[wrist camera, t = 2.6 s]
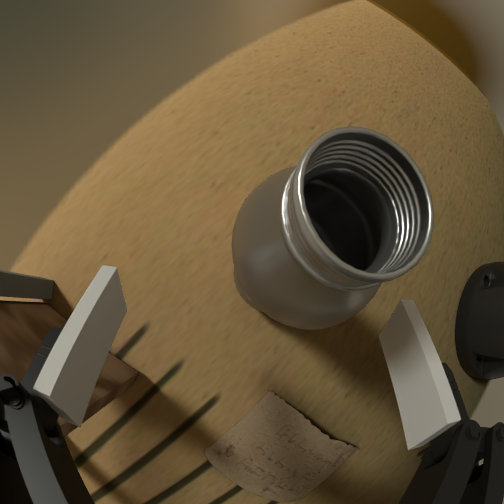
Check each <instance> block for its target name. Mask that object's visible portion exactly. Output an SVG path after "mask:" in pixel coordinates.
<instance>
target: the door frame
mask: <svg viewBox="0 0 504 504" xmlns="http://www.w3.org/2000/svg"><path fill="white" fill-rule="evenodd" d="M53 285H54V281H53V280H49V279H46V278H42V277H36V276H30V275H24V274H19V273H13V272H8V271H3V270H0V296H4V297H18V298H34V299H52V293H53Z"/></svg>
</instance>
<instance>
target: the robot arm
mask: <svg viewBox="0 0 504 504" xmlns="http://www.w3.org/2000/svg"><path fill="white" fill-rule="evenodd" d="M126 312H127V308H126V304H125V300H124V296H123V292H122V287H121V283H120V279H119V274H118V269H117V267H112V266H105V265H103V266H102V267H101V269H100V270H99V271H98V273H97V274H96V276H95V277H94V279H93V281H92V282H91V284H90V285H89V287H88V288H87V290H86V291H85V293H84V295H83V296H82V298H81V299H80V301H79V303H78V304H77V306H76V308H75V309H74V311H73V313H72V314H71V316H70V318H69V319H68V321H67V323H66V325H65V326H64V328H60V327H57V326H55V327H54V328H53V329H52V330H50V331H49V332H48V333H47V334H46V336H45V338H44V339H43V341H42V343H41V346H40V347H39V348H38V350H37V354H35V356H34V358H33V360H32V362H31V364H30V366H29V368H28V369H27V372H26V374H25V376H24V378H23V380H22V381H21V383H20V382H19V381H18V380H17V379H16V378H15V377H14V376H13V375H11V374H9V373H7V374H2V375H0V504H95V503H94V501H93V500H92V498H91V496H90V494H89V492H88V490H87V488H86V486H85V484H84V482H83V480H82V478H81V476H80V474H79V472H78V470H77V468H76V465H75V463H74V461H73V459H72V456H71V454H70V451H69V449H68V446H67V444H66V441H65V439H64V436H63V433H62V431H61V428H60V425H59V423H58V421H57V420H58V417H59V416H60V417H61V418H62V419H63V420H64V421H66V422H69V423H71V424H73V425H76V426H78V427H81V424H82V421H83V418H84V415H85V412H86V410H87V407H88V404H89V401H90V398H91V396H92V393H93V390H94V388H95V385H96V382H97V380H98V377H99V374H100V372H101V369H102V367H103V364H104V362H105V360H106V357H107V355H108V352H109V350H110V348H111V345H112V343H113V341H114V338H115V336H116V334H117V331H118V329H119V327H120V325H121V322H122V320H123V318H124V316H125V314H126ZM378 337H379V340H380V343H381V346H382V349H383V353H384V356H385V359H386V362H387V366H388V369H389V373H390V376H391V380H392V384H393V387H394V391H395V395H396V399H397V403H398V407H399V411H400V415H401V419H402V424H403V428H404V433H405V438H406V442H407V447H408V450H410V449H414V448H418V447H422V446H423V445H425V444H426V443H428V442H430V446H429V447H427V448H425V449H424V450H422V451H420V452H419V453H418V455H417V456H418V457H419V456H421V455H422V454H424V453H425V454H424V456H422V457H421V459H422V461H421V463H420V465H419V467H418V469H417V471H416V473H415V475H414V477H413V479H412V481H411V483H410V485H409V486H408V488H407V490H406V492H405V494H404V495H403V497H402V499H401V501H400V502H399V504H502V502H503V497H504V424H503V423H502V422H498V423H497V424H495V425H494V426H493V427H491V428H487V427H480V426H479V424H478V423H477V422H476V421H474V420H470V419H469V417H468V415H467V412H466V409H465V406H464V403H463V400H462V397H461V394H460V391H459V390H458V386H457V383H455V378H454V375H453V373H452V371H451V369H450V368H449V367H448V365H447V364H446V363H441V361H440V359H439V356H438V354H437V351H436V349H435V347H434V344H433V342H432V340H431V337H430V335H429V333H428V331H427V329H426V326H425V324H424V322H423V320H422V318H421V316H420V314H419V311H418V309H417V307H416V305H415V303H414V301H413V300H406V299H401V300H400V301H399V303H398V305H397V307H396V308H395V310H394V312H393V313H392V315H391V317H390V318H389V320H388V322H387V323H386V325H385V327H384V328H383V330H382V331H381V333H380V335H379V336H378ZM455 339H456V349H457V354H458V358H459V361H460V364H461V366H462V367H463V369H464V370H465V372H466V373H467V374H469V375H470V376H472V377H475V378H479V379H484V380H492V379H496V378H500V377H504V262H494V263H489V264H485V265H482V266H480V267H479V268H478V269H476V270H475V271H474V272H473V274H472V275H471V276H470V278H469V280H468V281H467V283H466V285H465V287H464V290H463V292H462V295H461V298H460V302H459V306H458V311H457V317H456V329H455ZM482 459H484V461H483V464H482V465H480V466H479V464H478V462H479V461H480V460H482Z"/></svg>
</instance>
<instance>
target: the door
mask: <svg viewBox="0 0 504 504" xmlns="http://www.w3.org/2000/svg"><path fill="white" fill-rule="evenodd" d="M66 323H67V320H66V319H64V318H63V317H62V316H61V315H60V314H58V313H57V312H56V311H55V310H54V309H53V308H51V307H50V306H49V305H46V304H45V303H43V302H21V301H2V300H0V375H2V374H7V373H9V374H11V375H13V376H14V377H15V378H16V379H17V380H18V381H19V382H20V383H21V381H22V380H23V378H24V376H25V374H26V372H27V369H28V368H29V366H30V364H31V362H32V360H33V358H34V356H35V354H37V350H38V348H39V347H40V346H41V343H42V341H43V339H44V338H45V336H46V334H47V333H48V332H49V331H50V330H52V329H53V328H54V327H55V326H57V327H60V328H64V326H65V325H66ZM137 375H138V371H136V370H135V369H133V368H132V367H130V366H129V365H127V364H125V363H124V362H122V361H121V360H119V359H118V358H116V357H115V356H113V355H112V354H111V353H109V352H108V355H107V357H106V360H105V362H104V364H103V367H102V369H101V372H100V374H99V377H98V380H97V382H96V385H95V388H94V390H93V393H92V396H91V398H90V401H89V404H88V407H87V410H86V412H85V415H84V418H83V421H82V423H84V422H85V421H86V420H88V419H89V418H90V417H91V416H93V415H94V414H95V413H97V412H98V411H99V410H101V409H102V408H103V407H105V406H106V405H107V404H108V403H110V402H111V401H112V400H114V399H115V398H116V397H117V396H119V395H120V394H121V393H123V392H124V391H125V390H126V389H128V388H129V387H130V386H132V385H133V383H134V381H135V379H136V377H137ZM57 421H58V423H59V425H60V428H61V431H62V433H63V436H64V437H65V436H66V435H67V434H69V433H70V432H72V431H73V430H74V429H76V428H77V427H78V426H76V425H73V424H71V423H69V422H66V421H64V420H63V419H62V418H61V417H60V416H59V417H58V420H57Z"/></svg>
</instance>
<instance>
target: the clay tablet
mask: <svg viewBox="0 0 504 504" xmlns="http://www.w3.org/2000/svg"><path fill="white" fill-rule="evenodd" d="M359 449H360V448H356V447H354V448H353V446H352V445H351V444H349V445H347V444H346V443H344V442H342V441H339V440H334V439H333V440H331V439H330V438H329V436H328V435H325V434H323V433H321V431H320V430H319V429H318V428H317V427H315V426H313V425H311V423H310V420H307V419H305V418H304V416H303V415H302V414H301V413H299V412H298V411H297V410H296V409H294V408H293V407H292V406H290V405H288V404H286V403H285V401H284V399H280V398H279V396H277V395H275V393H274V392H270V391H268V392H267V394H266V396H265V397H264V398H263V399H262V400H261V401H260V402H259V403H258V404H257V405H256V406H255V407H254V408H253V409H252V410H251V411H250V412H249V413H248V414H247V415H246V416H245V417H244V418H243V419H242V420H241V421H239V422H238V423H237V424H236V425H235V426H234V427H232V428H231V429H230V430H229V431H228V432H226V433H225V434H224V435H223V436H222V437H221V438H219V439H218V440H217V441H216V442H215V443H213V444H212V445H211V446H210V447H208V448H207V449H205V450H204V452H205V455H206V457H207V459H208V460H209V462H210V463H211V464H212V465H213V466H215V468H217V469H218V470H219V471H220V472H221V473H222V474H224V475H225V476H226V477H227V478H228V479H229V480H231V481H234V482H235V483H236V484H238V485H239V486H240V487H242V488H243V489H245V490H247V491H249V492H252V493H255V494H257V495H258V496H261V497H264V498H267V499H269V500H275V501H278V502H293V501H296V500H298V499H302V498H304V497H305V496H306V495H307V494H308V493H310V492H311V491H312V490H313V489H315V488H316V487H317V486H318V485H319V484H320V483H322V482H323V481H324V480H325V479H326V478H328V477H329V476H330V475H331V474H332V473H333V472H334V471H335V470H337V469H338V468H339V467H340V466H341V465H342V464H343V463H344V462H345V461H346V459H347V458H349V457H350V456H352V455H353V454H354V453H355V452H356V451H357V450H359Z"/></svg>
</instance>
